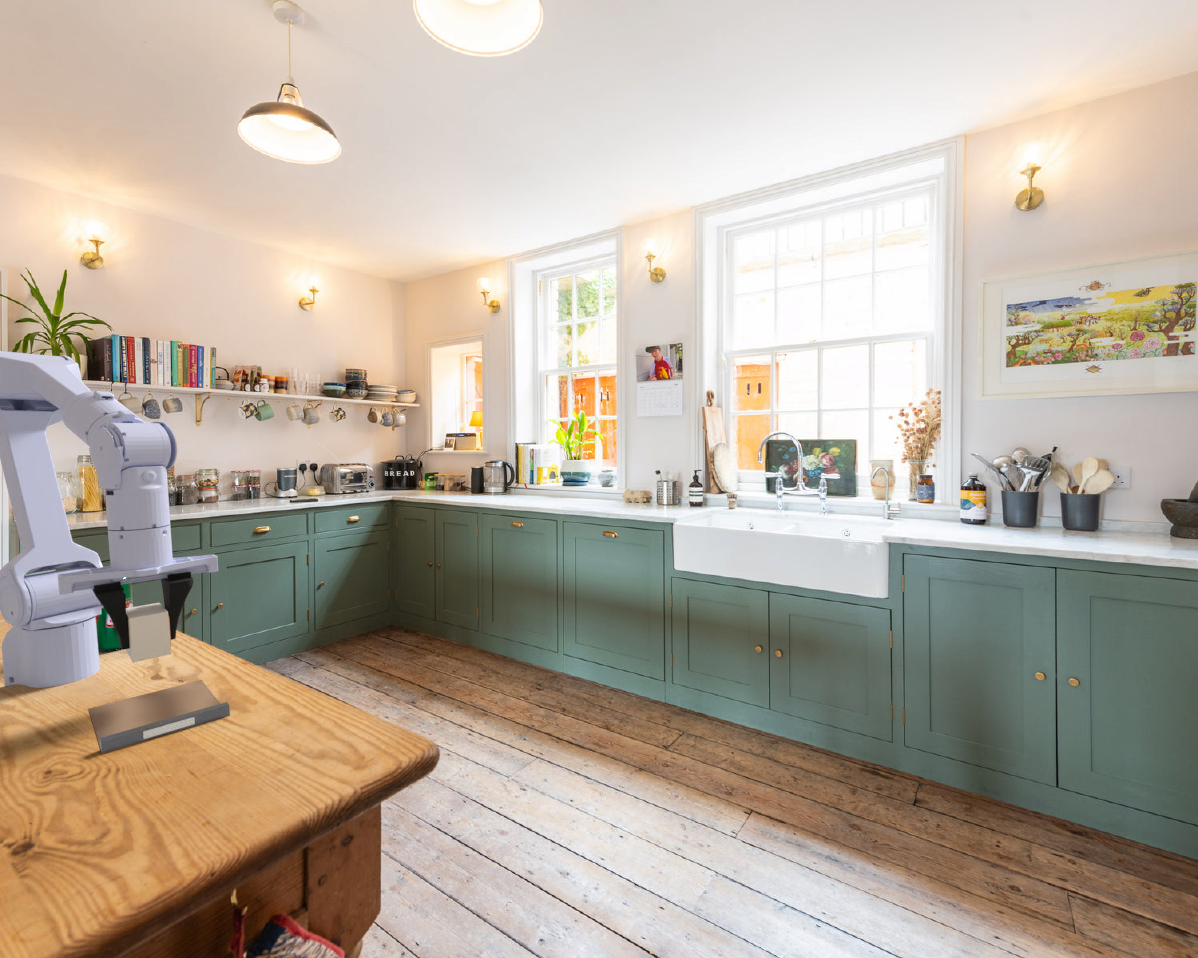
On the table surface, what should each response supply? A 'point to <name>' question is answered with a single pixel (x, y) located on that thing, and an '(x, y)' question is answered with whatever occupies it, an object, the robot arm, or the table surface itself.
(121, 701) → the shelf board
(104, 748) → the rail
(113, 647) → the soda can
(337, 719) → the table surface
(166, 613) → the carton
